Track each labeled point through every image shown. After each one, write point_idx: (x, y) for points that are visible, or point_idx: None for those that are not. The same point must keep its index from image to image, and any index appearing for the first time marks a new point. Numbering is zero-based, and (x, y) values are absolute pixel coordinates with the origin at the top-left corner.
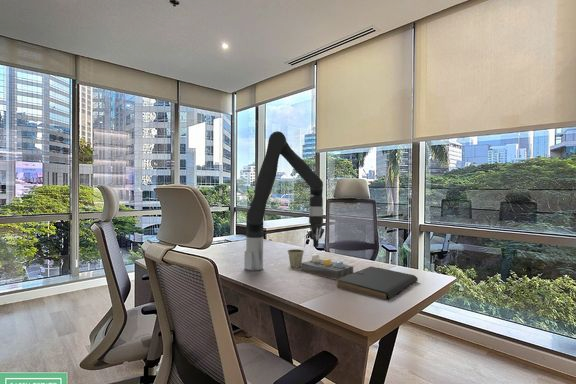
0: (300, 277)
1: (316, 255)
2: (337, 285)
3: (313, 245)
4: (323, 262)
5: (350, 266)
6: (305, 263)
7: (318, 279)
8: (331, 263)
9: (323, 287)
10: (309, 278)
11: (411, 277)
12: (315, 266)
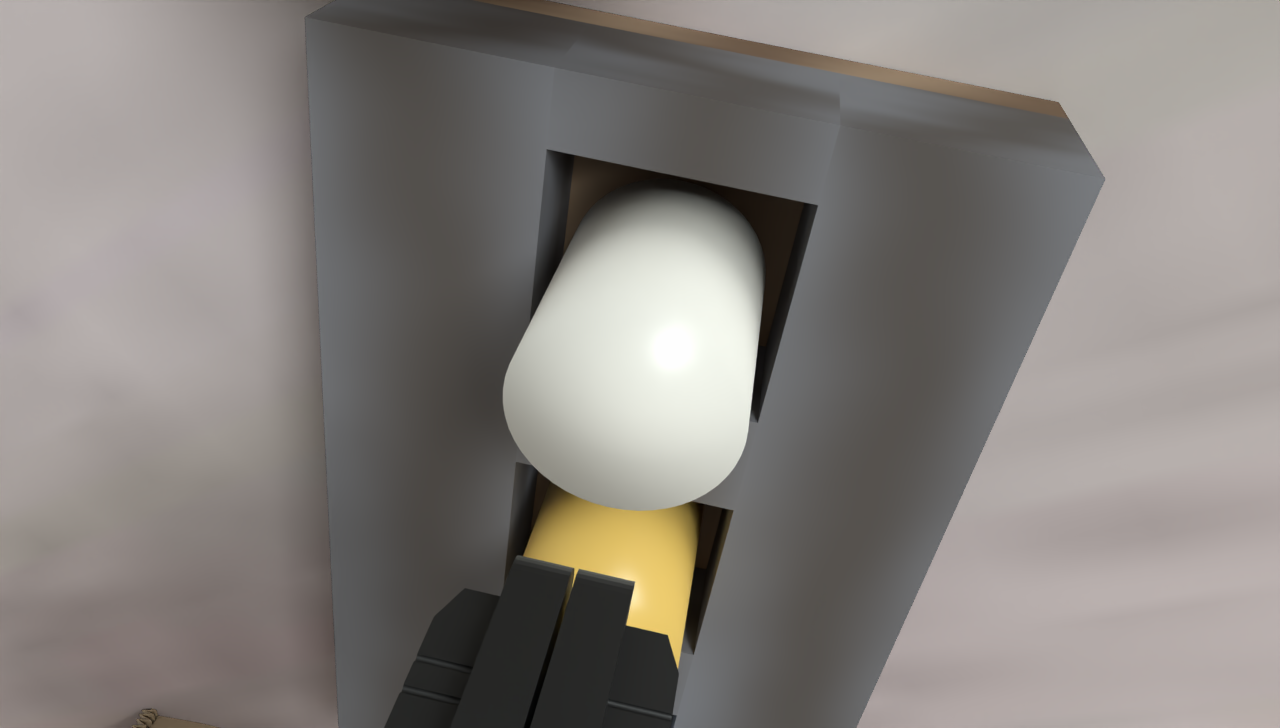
0: (22, 213)
1: (541, 470)
2: (142, 726)
3: (448, 612)
4: (528, 555)
5: None
6: (347, 142)
7: (191, 478)
8: (761, 605)
9: (7, 612)
10: (114, 358)
11: None
12: (325, 429)
